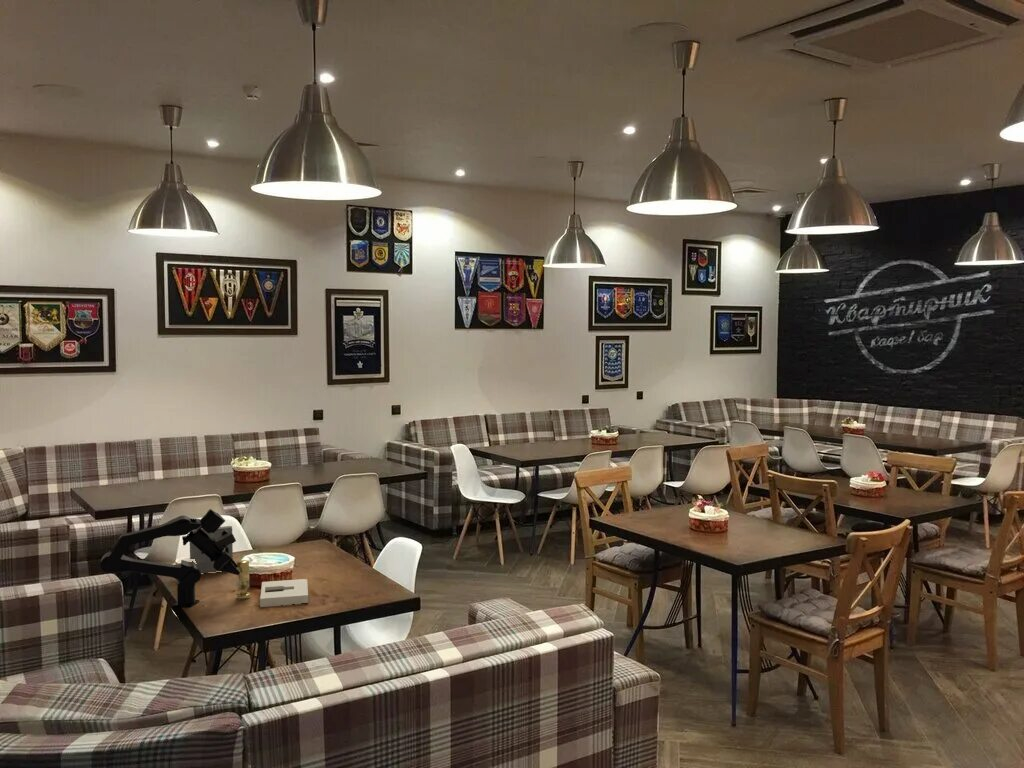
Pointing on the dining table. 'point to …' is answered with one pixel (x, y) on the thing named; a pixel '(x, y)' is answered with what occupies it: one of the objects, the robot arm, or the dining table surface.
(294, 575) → the dining table surface
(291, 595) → the keyhole plate
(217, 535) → the hip flask
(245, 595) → the brass peg
